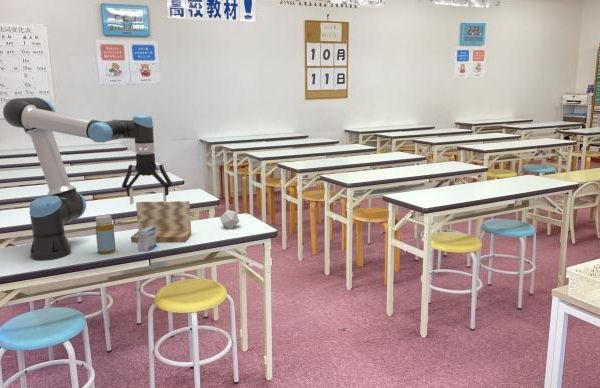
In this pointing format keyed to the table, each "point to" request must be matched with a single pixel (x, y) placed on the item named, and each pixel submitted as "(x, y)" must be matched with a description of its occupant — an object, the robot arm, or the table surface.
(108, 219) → the bottle
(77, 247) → the table surface
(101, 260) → the table surface
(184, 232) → the cleat board
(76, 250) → the table surface
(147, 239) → the medicine box
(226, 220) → the die
